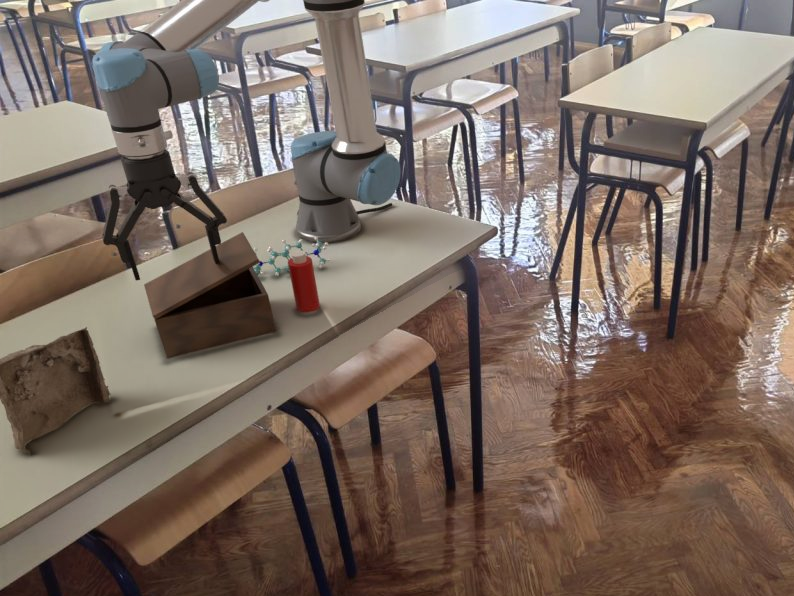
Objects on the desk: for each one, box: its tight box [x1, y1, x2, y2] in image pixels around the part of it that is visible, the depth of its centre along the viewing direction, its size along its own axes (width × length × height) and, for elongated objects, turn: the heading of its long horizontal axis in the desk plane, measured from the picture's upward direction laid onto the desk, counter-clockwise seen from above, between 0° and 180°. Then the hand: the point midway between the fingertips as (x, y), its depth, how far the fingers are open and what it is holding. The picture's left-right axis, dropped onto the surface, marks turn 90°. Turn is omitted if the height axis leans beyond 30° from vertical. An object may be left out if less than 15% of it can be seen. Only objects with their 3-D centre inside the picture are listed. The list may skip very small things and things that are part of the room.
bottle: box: [287, 250, 321, 313], centre depth 150 cm, size 5×5×13 cm
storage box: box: [153, 266, 277, 359], centre depth 144 cm, size 20×13×9 cm
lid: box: [143, 231, 261, 320], centre depth 139 cm, size 21×13×1 cm, turn 117°
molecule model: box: [253, 237, 332, 276], centre depth 165 cm, size 8×18×7 cm, turn 115°
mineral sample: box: [0, 326, 112, 456], centre depth 119 cm, size 17×4×15 cm, turn 154°
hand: (177, 269), depth 137 cm, fingers open, 13 cm apart
